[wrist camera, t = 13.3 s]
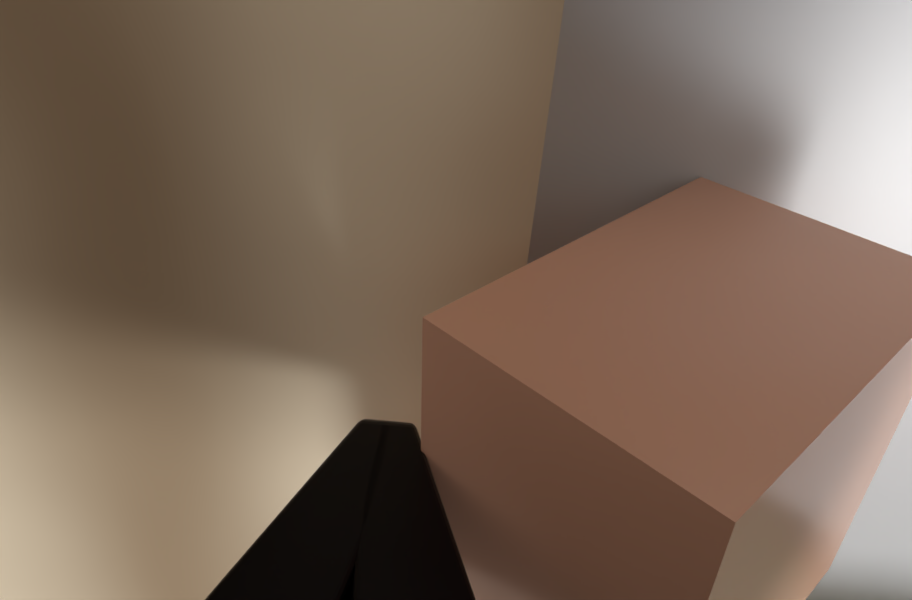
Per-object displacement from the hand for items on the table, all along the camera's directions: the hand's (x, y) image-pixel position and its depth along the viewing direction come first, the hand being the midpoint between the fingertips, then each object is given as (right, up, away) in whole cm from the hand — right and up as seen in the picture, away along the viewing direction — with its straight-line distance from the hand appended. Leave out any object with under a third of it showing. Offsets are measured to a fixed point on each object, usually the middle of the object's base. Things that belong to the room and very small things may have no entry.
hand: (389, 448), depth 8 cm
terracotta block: (+2, 0, +1) cm, 2 cm away
